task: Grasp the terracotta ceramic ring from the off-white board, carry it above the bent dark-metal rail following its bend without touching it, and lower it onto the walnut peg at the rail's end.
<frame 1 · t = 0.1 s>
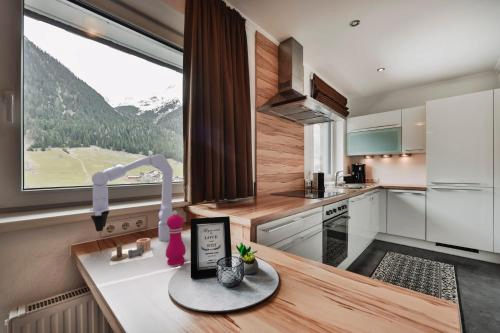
hand: (101, 229, 97), 10 cm above the worktop, fingers open, 7 cm apart
peg: (119, 258, 87), resting on board
rail: (166, 238, 110), resting on board
board: (132, 256, 91), on the worktop
pepper mill: (176, 264, 82), on the worktop
ring: (143, 249, 96), point 1 cm above the worktop, touching board
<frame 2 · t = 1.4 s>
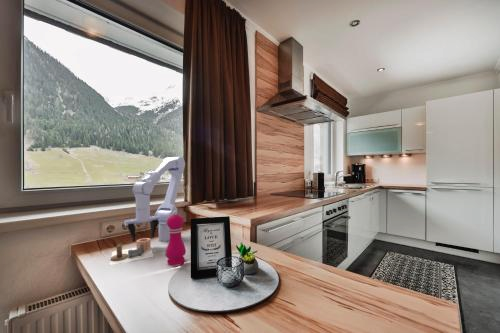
hand: (143, 239, 96), 5 cm above the worktop, fingers open, 7 cm apart
nothing on the worktop moved.
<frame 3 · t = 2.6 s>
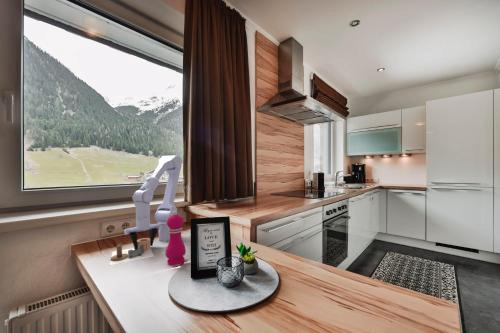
hand: (143, 247, 96), 2 cm above the worktop, fingers closed on ring, 6 cm apart
ring: (143, 249, 96), point 1 cm above the worktop, touching board, gripper
everything else where it was.
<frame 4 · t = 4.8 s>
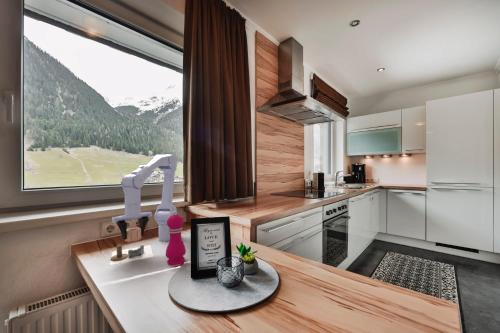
hand: (133, 237, 88), 9 cm above the worktop, fingers closed on ring, 6 cm apart
ring: (133, 239, 88), point 8 cm above the worktop, touching gripper
everything else where it was.
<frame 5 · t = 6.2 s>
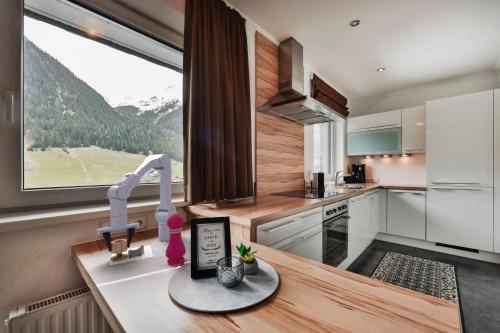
hand: (119, 249, 87), 4 cm above the worktop, fingers closed on ring, 6 cm apart
ring: (119, 251, 87), point 4 cm above the worktop, touching gripper
everything else where it was.
when the fingers open (4 cm above the worktop, at t = 7.1 s): ring drops 2 cm, resting on peg.
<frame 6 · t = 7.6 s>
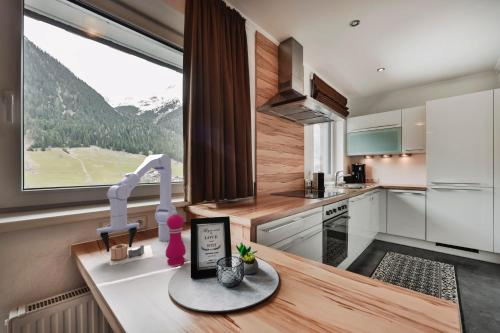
hand: (119, 249, 87), 4 cm above the worktop, fingers open, 7 cm apart
ring: (119, 256, 87), point 1 cm above the worktop, touching peg
everything else where it was.
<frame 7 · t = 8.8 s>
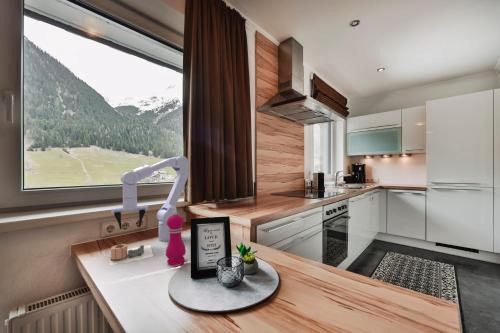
hand: (130, 227, 99), 10 cm above the worktop, fingers open, 7 cm apart
nothing on the worktop moved.
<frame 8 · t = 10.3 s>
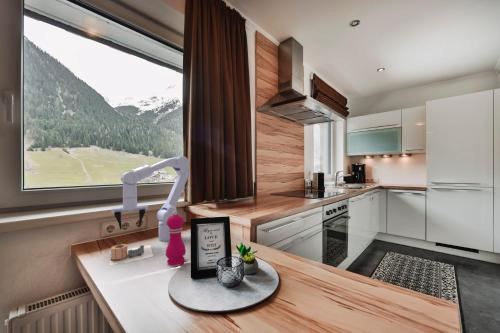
hand: (130, 227, 99), 10 cm above the worktop, fingers open, 7 cm apart
nothing on the worktop moved.
at the end: ring 0.1 cm off-centre on the peg, point 0.6 cm above the peg's base; ring touching peg; the gripper is holding nothing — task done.
